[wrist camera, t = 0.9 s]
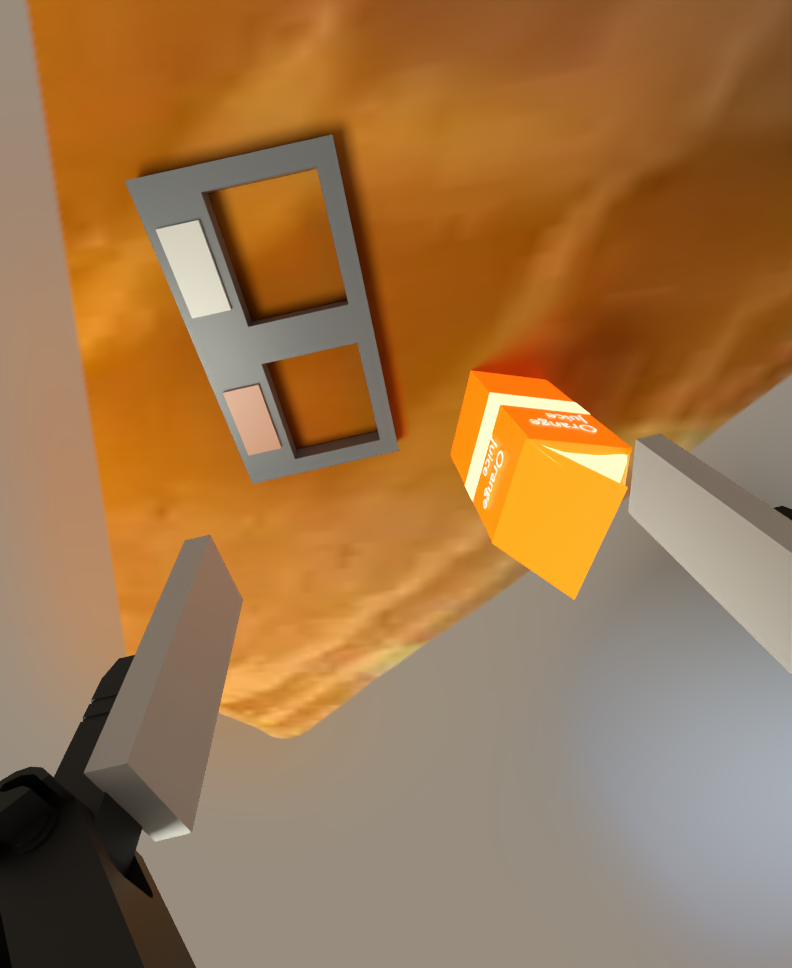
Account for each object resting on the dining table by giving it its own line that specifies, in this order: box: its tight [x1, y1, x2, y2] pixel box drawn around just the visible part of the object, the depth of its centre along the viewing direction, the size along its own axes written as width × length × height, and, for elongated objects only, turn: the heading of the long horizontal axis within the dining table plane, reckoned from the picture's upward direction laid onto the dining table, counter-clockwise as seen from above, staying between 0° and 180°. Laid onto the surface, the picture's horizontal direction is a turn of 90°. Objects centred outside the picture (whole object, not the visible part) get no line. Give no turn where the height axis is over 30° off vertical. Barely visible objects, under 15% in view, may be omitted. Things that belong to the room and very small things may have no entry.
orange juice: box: [451, 370, 632, 600], centre depth 36 cm, size 8×9×20 cm
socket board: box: [125, 135, 399, 483], centre depth 37 cm, size 14×24×2 cm, turn 11°
